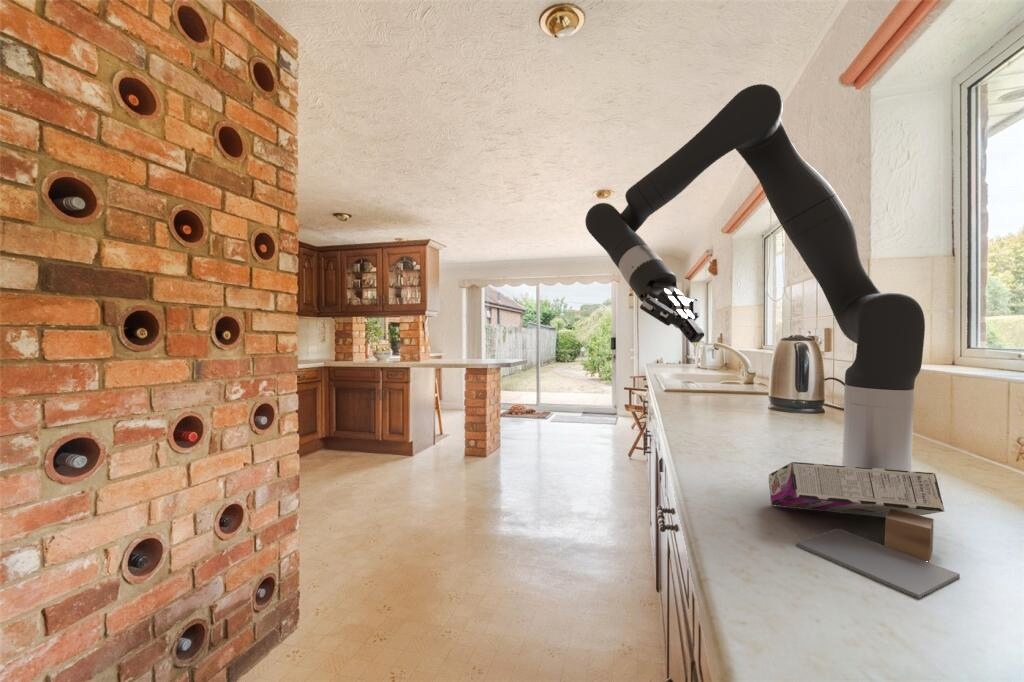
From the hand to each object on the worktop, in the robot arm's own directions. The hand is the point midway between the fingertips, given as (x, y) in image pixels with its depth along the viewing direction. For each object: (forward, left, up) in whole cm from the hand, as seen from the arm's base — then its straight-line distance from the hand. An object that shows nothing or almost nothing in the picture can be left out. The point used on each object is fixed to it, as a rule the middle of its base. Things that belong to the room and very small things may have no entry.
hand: (698, 339), depth 74 cm
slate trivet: (0, +25, -25) cm, 36 cm away
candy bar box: (-2, +13, -21) cm, 24 cm away
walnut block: (-7, +26, -25) cm, 37 cm away
